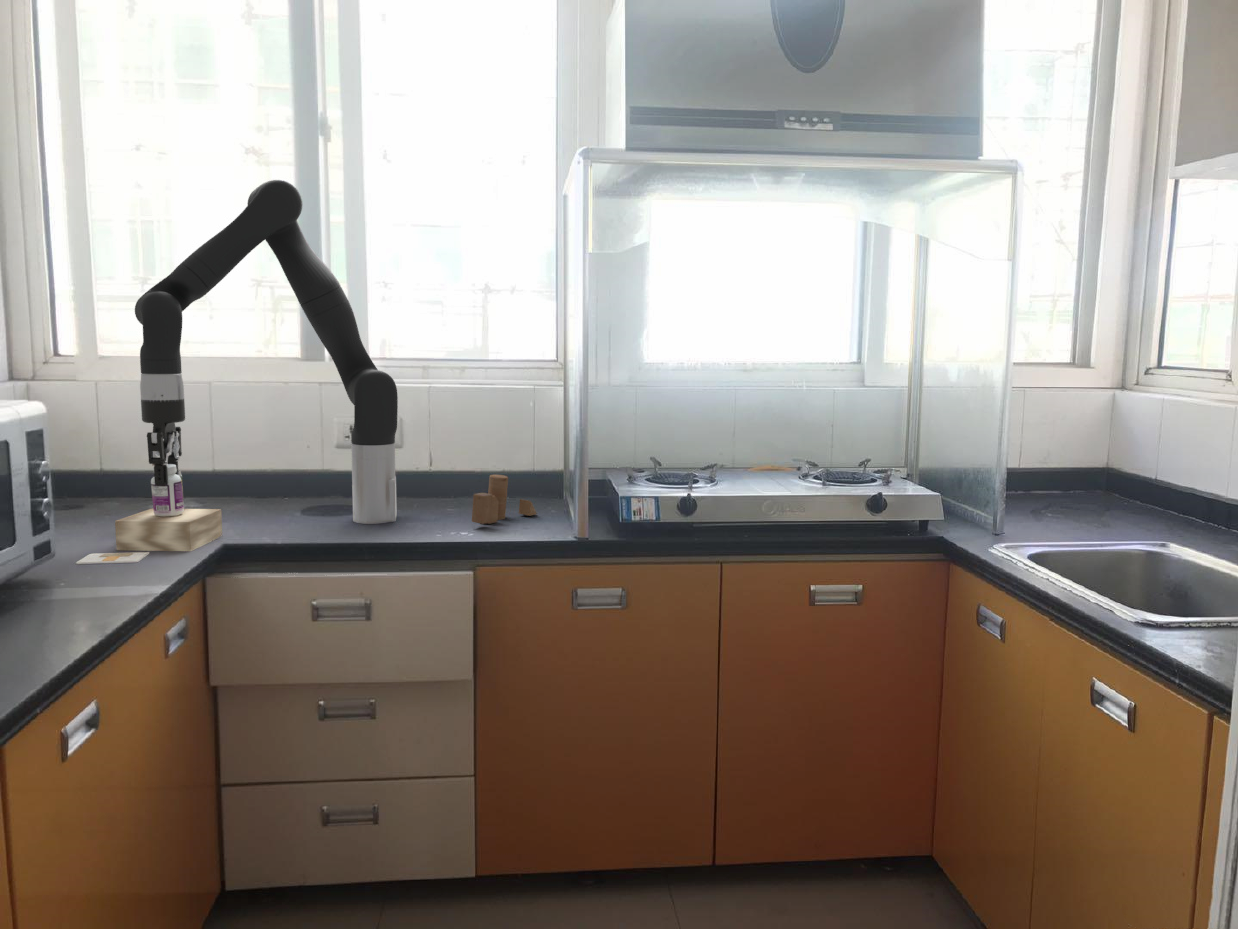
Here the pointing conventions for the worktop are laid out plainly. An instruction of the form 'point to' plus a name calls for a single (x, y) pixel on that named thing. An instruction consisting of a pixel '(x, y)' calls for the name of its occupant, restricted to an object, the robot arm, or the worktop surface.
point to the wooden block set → (496, 502)
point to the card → (113, 558)
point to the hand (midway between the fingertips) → (167, 482)
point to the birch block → (168, 530)
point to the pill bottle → (168, 495)
